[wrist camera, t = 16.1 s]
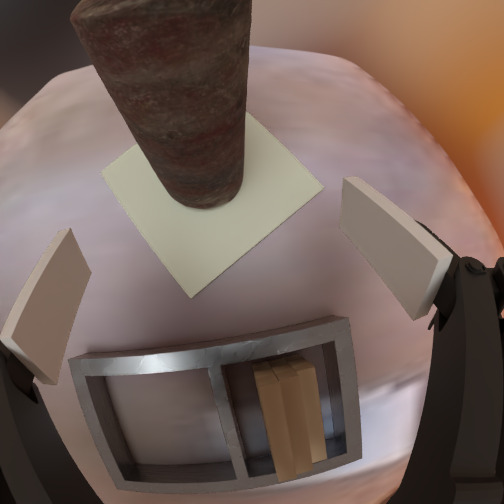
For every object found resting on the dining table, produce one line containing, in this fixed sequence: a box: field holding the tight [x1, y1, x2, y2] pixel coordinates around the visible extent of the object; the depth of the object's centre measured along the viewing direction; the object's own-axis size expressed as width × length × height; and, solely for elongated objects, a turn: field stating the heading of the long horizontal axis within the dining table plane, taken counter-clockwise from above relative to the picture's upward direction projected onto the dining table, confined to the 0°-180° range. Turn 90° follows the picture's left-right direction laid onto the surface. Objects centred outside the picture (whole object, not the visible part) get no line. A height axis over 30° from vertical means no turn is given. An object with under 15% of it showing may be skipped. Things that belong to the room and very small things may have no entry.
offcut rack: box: [68, 315, 362, 494], centre depth 20 cm, size 24×14×4 cm, turn 101°
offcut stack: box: [252, 354, 327, 482], centre depth 19 cm, size 4×9×6 cm, turn 11°
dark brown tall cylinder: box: [70, 0, 252, 210], centre depth 15 cm, size 8×7×20 cm
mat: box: [100, 111, 324, 299], centre depth 25 cm, size 16×16×1 cm
